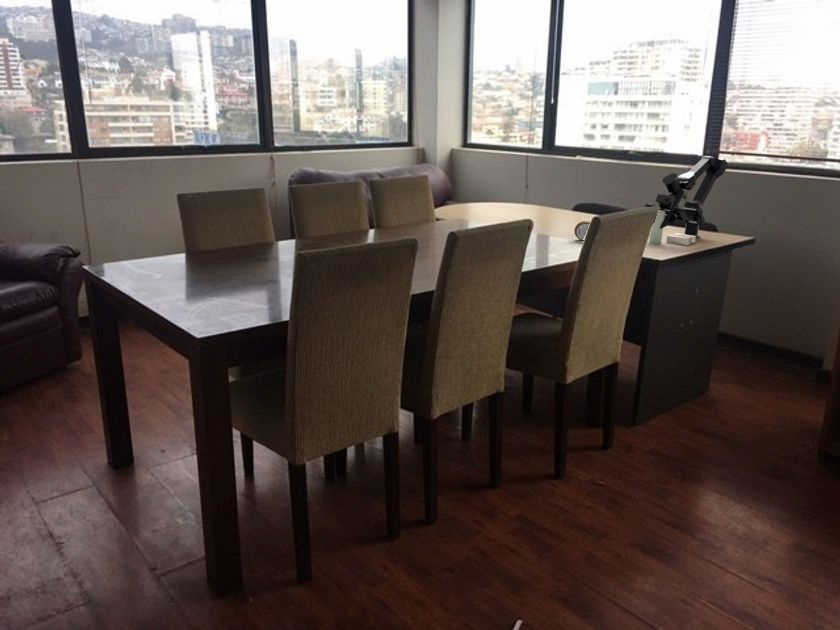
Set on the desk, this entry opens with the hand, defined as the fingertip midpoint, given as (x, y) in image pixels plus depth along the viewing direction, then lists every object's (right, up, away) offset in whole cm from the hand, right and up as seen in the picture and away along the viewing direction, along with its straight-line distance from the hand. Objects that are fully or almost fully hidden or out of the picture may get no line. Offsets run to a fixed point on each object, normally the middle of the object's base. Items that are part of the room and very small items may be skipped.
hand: (655, 227), depth 298 cm
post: (+1, -7, +3) cm, 7 cm away
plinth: (+13, -6, +5) cm, 15 cm away
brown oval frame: (-27, -6, +5) cm, 28 cm away
